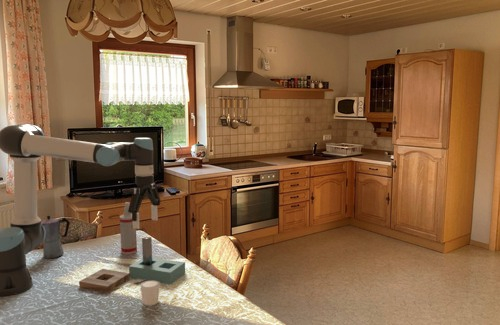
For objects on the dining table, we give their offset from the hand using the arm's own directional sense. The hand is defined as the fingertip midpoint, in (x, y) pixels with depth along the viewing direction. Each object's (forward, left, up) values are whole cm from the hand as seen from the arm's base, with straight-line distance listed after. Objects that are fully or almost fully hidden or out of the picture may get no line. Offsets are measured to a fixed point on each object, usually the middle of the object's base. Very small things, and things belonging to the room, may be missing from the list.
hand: (145, 224), depth 179 cm
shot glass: (-22, -16, -22) cm, 35 cm away
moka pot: (+4, +56, -22) cm, 60 cm away
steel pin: (0, 0, -22) cm, 22 cm away
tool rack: (0, -5, -22) cm, 23 cm away
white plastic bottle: (+21, +25, -22) cm, 40 cm away
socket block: (-14, +11, -22) cm, 28 cm away
